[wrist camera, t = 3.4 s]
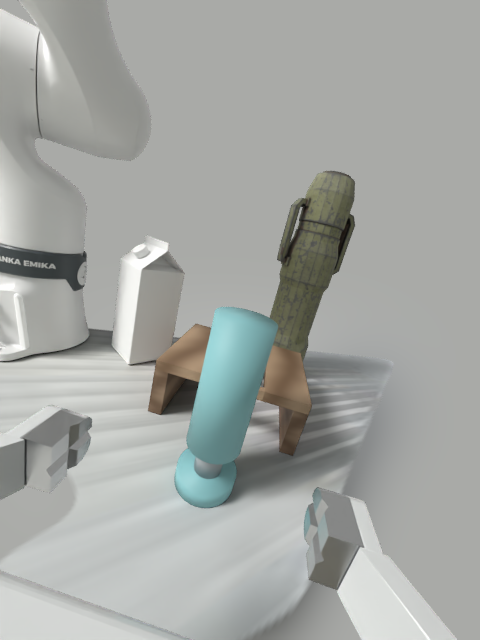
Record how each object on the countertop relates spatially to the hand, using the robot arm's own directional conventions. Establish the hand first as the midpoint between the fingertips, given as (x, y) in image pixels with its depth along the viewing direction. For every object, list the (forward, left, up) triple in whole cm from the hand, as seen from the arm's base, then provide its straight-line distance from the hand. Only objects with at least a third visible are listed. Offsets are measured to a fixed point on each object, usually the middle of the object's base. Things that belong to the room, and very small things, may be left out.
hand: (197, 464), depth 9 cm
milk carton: (-5, +36, -15) cm, 39 cm away
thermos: (+20, +37, -15) cm, 44 cm away
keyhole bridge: (+9, +25, -14) cm, 30 cm away
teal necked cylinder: (+4, +12, -14) cm, 19 cm away
